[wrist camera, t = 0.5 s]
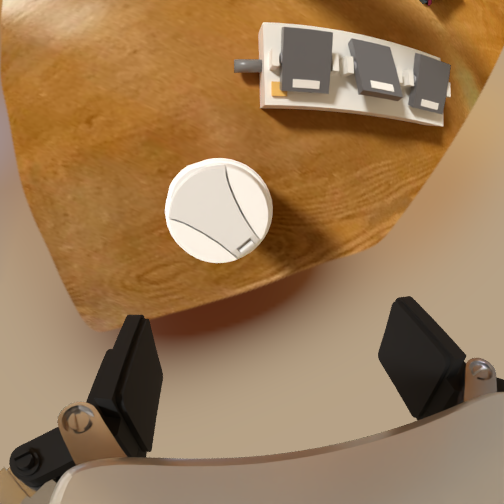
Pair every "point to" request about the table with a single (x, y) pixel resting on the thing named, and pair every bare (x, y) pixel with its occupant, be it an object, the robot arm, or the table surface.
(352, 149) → the table surface
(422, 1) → the decorative book
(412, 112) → the strip
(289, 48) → the rocker
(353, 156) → the table surface
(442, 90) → the rocker
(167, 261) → the table surface
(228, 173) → the coffee cup
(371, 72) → the rocker mid
